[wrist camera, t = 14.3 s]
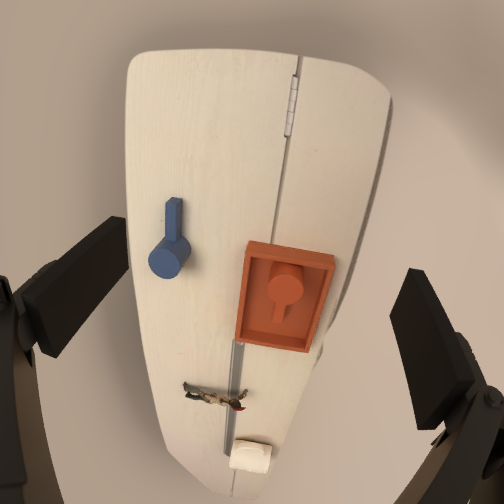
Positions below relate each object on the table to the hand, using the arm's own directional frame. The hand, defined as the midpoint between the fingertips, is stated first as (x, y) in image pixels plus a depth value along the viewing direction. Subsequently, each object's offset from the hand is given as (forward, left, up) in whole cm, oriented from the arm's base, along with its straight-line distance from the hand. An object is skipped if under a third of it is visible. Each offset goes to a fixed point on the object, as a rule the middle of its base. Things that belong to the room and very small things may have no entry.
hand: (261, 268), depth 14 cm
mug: (+59, +36, -29) cm, 75 cm away
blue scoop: (+19, -6, -29) cm, 35 cm away
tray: (+18, +12, -29) cm, 36 cm away
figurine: (+45, +17, -29) cm, 56 cm away
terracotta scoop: (+16, +11, -28) cm, 34 cm away
